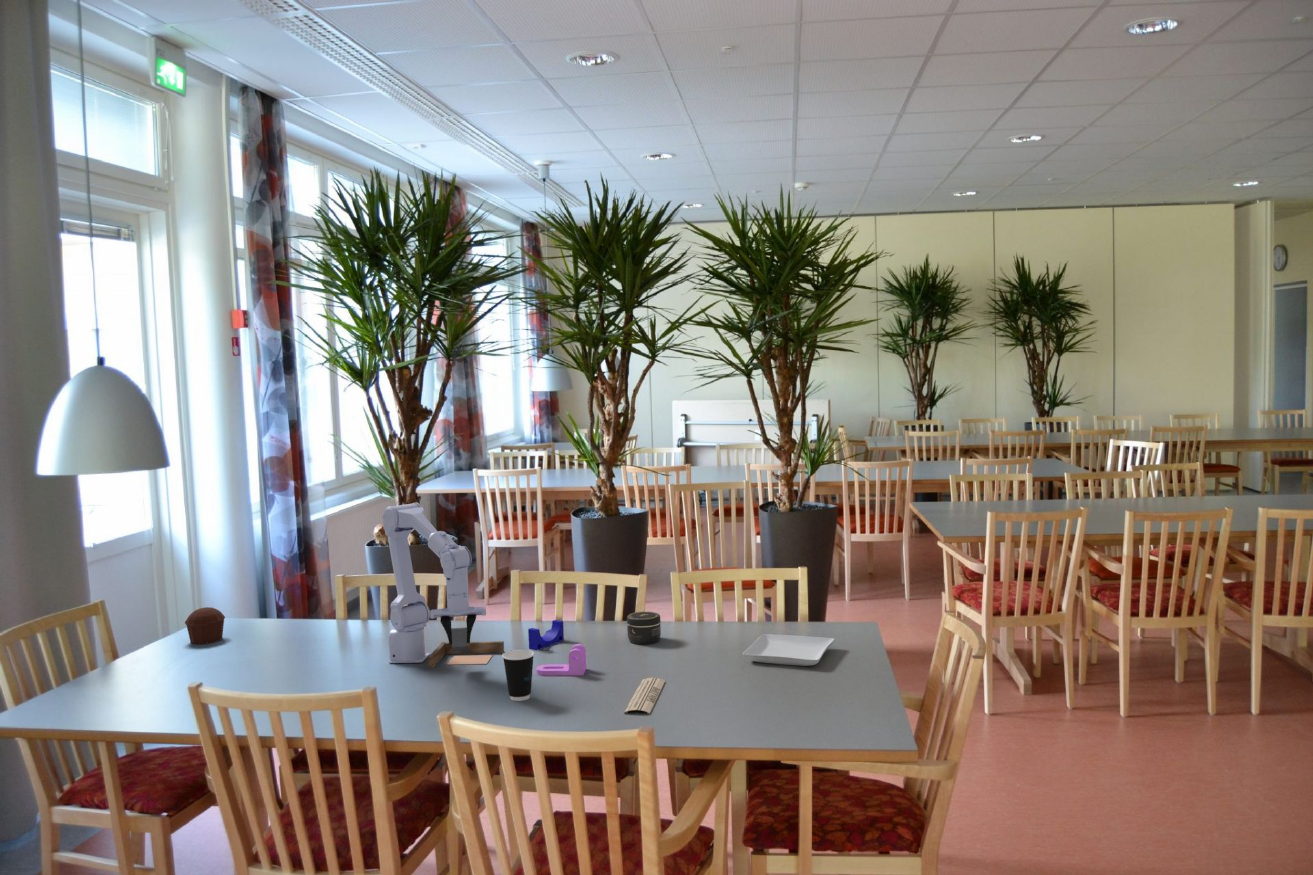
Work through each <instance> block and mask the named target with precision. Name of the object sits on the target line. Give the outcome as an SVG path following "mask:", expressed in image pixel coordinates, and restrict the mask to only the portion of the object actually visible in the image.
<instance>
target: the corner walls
mask: <svg viewBox="0 0 1313 875" xmlns="http://www.w3.org/2000/svg"><path fill="white" fill-rule="evenodd" d="M501 653H502V654H503V653H505V642H504V640H502V641H501V640H500V641H499V640H498V641H497V640H495V641H470V643H469V647H468V651H455V652H452V644H451V645H449V641H447V642H446V641H445V642H443V641H442V642H440V644H439V645H438V646H437V647H436V648H435V649H434V651H433V652H432V653H430V655H429V656H428V657H427V669H433V668H434V667H435V666H436V665H437V664H438V663H439V662H440V661H441V659H442V658H443V657H444V656H445V655H448V654H449V655H450V654H451V655H452V654H456V655H457V654H459V655H460V654H501Z"/></svg>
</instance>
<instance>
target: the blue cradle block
mask: <svg viewBox="0 0 1313 875" xmlns="http://www.w3.org/2000/svg"><path fill="white" fill-rule="evenodd" d="M527 630H528V631H527V633H528V650H532V651H538V650H541V649H544V648H547V647H550V646H553V645H554V644H557V643H560V642H563V641H564V640H565V633H564V631H565V630H564V621H563V620H560V619H554V620H552V622H551V628H550V629H548V630H546V631H545V633H544V634H543V635H541V632H540V631H541V630H540V628H535V627H531V628H528V629H527Z"/></svg>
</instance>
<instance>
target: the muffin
mask: <svg viewBox="0 0 1313 875" xmlns="http://www.w3.org/2000/svg"><path fill="white" fill-rule="evenodd" d="M225 619H226V616H225V615H224V614H223V612H221V611H220V610H219V609H217V608H215V607H200V608H198V609H195V610H193V611H192V612H191V613H189V615H188V617H187V618H186V620H185V621H184V624H185V626H186V628H187V633H188V637H189V641H190V643H191V644H193V645H206V644H213V643H216V642H219V641H221V640H222V639H223V635H224V633H223V631H224V625H225V624H224V623H225Z"/></svg>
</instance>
